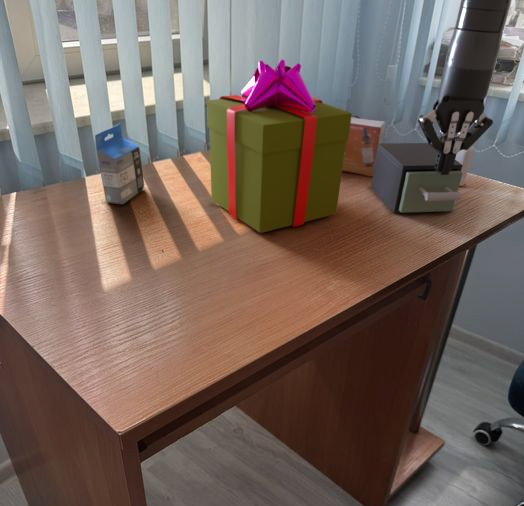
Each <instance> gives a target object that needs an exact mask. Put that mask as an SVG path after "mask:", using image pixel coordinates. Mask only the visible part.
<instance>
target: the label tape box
mask: <svg viewBox="0 0 524 506" xmlns="http://www.w3.org/2000/svg"><path fill="white" fill-rule="evenodd" d="M122 130H123V129H122V123H117V124H116V125H114V126H111V127H109V128H106V129H105V130H102V131H100V132H98V133H96V134H95V135H94V141H95V149H96V155H97V161H98V166H99V171H100V178H101V182H102V188H103V194H104V199H105V202H106V203H111V204H113V205H114V204H116V205H124V204H126V203H127V202H128V201H130V200H131V199H132V198H134V197H135V196H136V195H138V194H140V193H141V192H142V191H143V190H145V189H146V187H145V181H144V180H145V179H144V173H143V172H144V171H143V166H142V157H141V150H140V147H139V146H138V145H137V144H135V143H133V142H132V141H130V140H128V139H126V138H125V137H123V136H122V135H123V133H122ZM109 135H110V136H111V135H112V137H110V138H108V139H106V138H107V137H108V136H109Z"/></svg>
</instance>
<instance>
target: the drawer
mask: <svg viewBox="0 0 524 506" xmlns="http://www.w3.org/2000/svg"><path fill="white" fill-rule="evenodd" d="M462 174H463V173H462V172H461V171H452V170H451V172H449V174H448V175H439V174H438V173H437V172H436V170H406V175H405V180H404V185H403V190H402V194H401V199H400V204H399V205H400V207H399V211H400V212H401V213H400V214H405V213H404V212H427V213H436V212H435V211H450V212H452V211H453V210H454V207H455V202H456V201H459V199H460V192H459V188H460V186H459V185H460V181H461V177H462Z"/></svg>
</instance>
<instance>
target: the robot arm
mask: <svg viewBox="0 0 524 506" xmlns="http://www.w3.org/2000/svg"><path fill="white" fill-rule="evenodd" d="M511 4H512V0H460V3H459V9H458V12H457V17H456V21H455V27H454V29H453V33H452V36H451V38H450V41H449V44H448V48H447V52H446V55H445V62H444V66H443V70H442V74H441V78H440V82H439V83H440V84H439V88H438V95H437V99H436V100H435V102H434V104H433V105H432V110H431V111H428V113H426V114H425V115H423V114H421V115H419V116H418V117H417V122H418V124H419V126H420V128H421V131H422V133H423V135H424V137H425V139H426V141H427V143H429V145H430V146H431V147H433V148H434V149H436V150H437V151H438V153H437V157H436V161H435V165H434V169H435V170H436V172H437V173H438V174H439V175H448V174H449V172H451V170H452V169H453V165H454V162H455V158H456V154H457V153H458V152H459V151H461V150H463V149H464V150H468V149H469V148H470V147H472V146H473V145H474V144H475V143H476V142H477V141H478V140H479V139H480V138H481V137H482V136H483V135H484V134H485V133H486V132H487V131H488V130H489V129H490V128H491V127H492V125H493V124H494V120H493V119H491V118H490V117H488V116H487V114H486V113H485V112H484V111H485V99H486V98H487V96H488V93H489V89H490V86H491V83H492V79H493V75H494V72H495V68H496V65H497V61H498V59H499V54H500V50H501V44H502V40H503V39H502V38H503V34H504V30H505V26H506V23H507V19H508V15H509V12H510V9H511ZM436 122H437V125H438V127H439V128H438V133H437V132H436V130H435V128H434V127H435V126H436Z"/></svg>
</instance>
